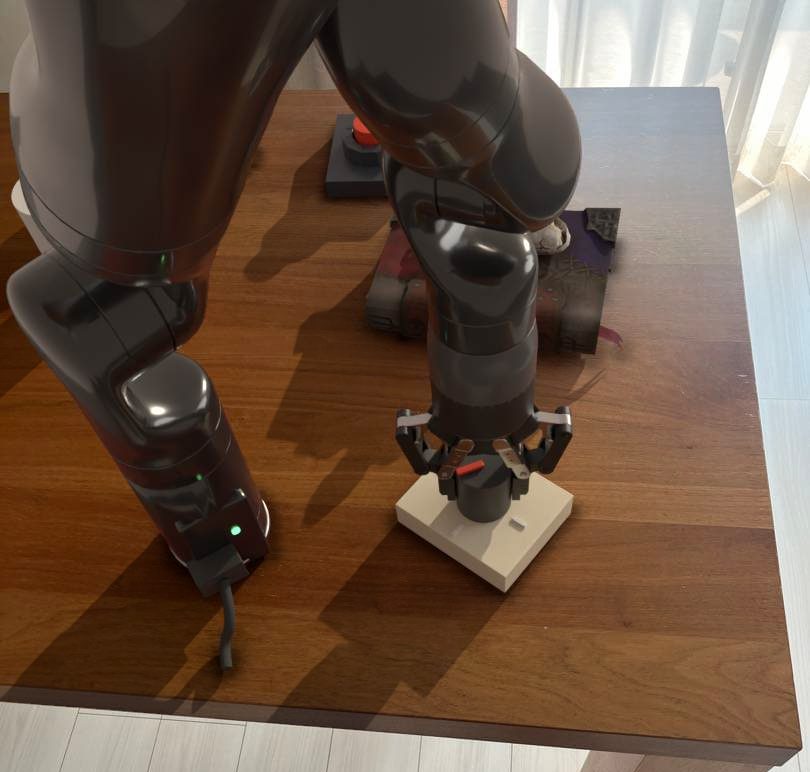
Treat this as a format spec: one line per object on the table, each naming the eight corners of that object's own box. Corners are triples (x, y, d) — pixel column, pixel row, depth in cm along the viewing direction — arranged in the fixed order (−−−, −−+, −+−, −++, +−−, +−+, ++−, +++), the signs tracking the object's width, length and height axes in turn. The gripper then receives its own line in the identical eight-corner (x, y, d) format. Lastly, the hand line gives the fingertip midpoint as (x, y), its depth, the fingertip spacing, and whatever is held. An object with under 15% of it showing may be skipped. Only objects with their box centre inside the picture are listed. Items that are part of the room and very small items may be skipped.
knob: (498, 469, 79) (499, 430, 74) (520, 512, 76) (522, 475, 71) (448, 487, 78) (445, 449, 73) (468, 530, 76) (467, 494, 71)
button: (388, 146, 101) (386, 132, 99) (353, 147, 101) (351, 133, 99) (391, 123, 102) (389, 109, 101) (356, 124, 103) (354, 110, 101)
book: (359, 337, 92) (350, 285, 85) (402, 219, 100) (396, 163, 93) (618, 373, 87) (629, 321, 80) (641, 245, 95) (652, 188, 88)
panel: (571, 513, 79) (574, 494, 77) (504, 593, 76) (505, 576, 73) (464, 448, 84) (464, 428, 81) (397, 521, 80) (394, 503, 78)
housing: (414, 196, 101) (411, 166, 98) (328, 197, 103) (322, 168, 99) (421, 128, 107) (418, 98, 104) (339, 130, 108) (334, 100, 105)
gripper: (377, 405, 61) (399, 529, 75) (589, 402, 59) (570, 529, 74) (383, 323, 64) (403, 457, 79) (583, 317, 63) (566, 455, 78)
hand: (484, 491), depth 76 cm, fingers closed on knob, 5 cm apart
